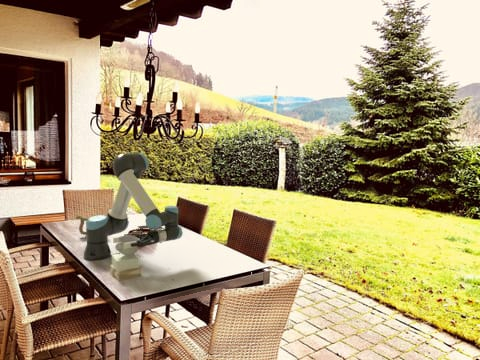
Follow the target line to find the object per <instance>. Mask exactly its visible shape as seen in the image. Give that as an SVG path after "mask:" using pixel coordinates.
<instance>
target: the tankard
mask: <svg viewBox="0 0 480 360" xmlns="http://www.w3.org/2000/svg"><path fill="white" fill-rule="evenodd" d="M90 217H91V216H89V217H86V218H85V217H83V216H81V215H77V216H75V219H76V220H80V221H79V222H80V223H79V227H78V231H79V233H80V235H83V236H84V238H85V239H86V238H87V230H86V229H85V231H84V230H83V228H84V225H85V224H86V225H87V220H88V219H89V218H90ZM86 225H85V226H86Z"/></svg>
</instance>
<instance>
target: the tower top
mask: <svg viewBox="0 0 480 360" xmlns="http://www.w3.org/2000/svg"><path fill="white" fill-rule="evenodd" d="M111 265H113V266H114V268H115V269H116V271H119V270H126V269H133V268H138V265H139V258H138V256H137V255H136V253H134V254H133V255H123V254H121V253H115V254H111Z"/></svg>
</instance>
